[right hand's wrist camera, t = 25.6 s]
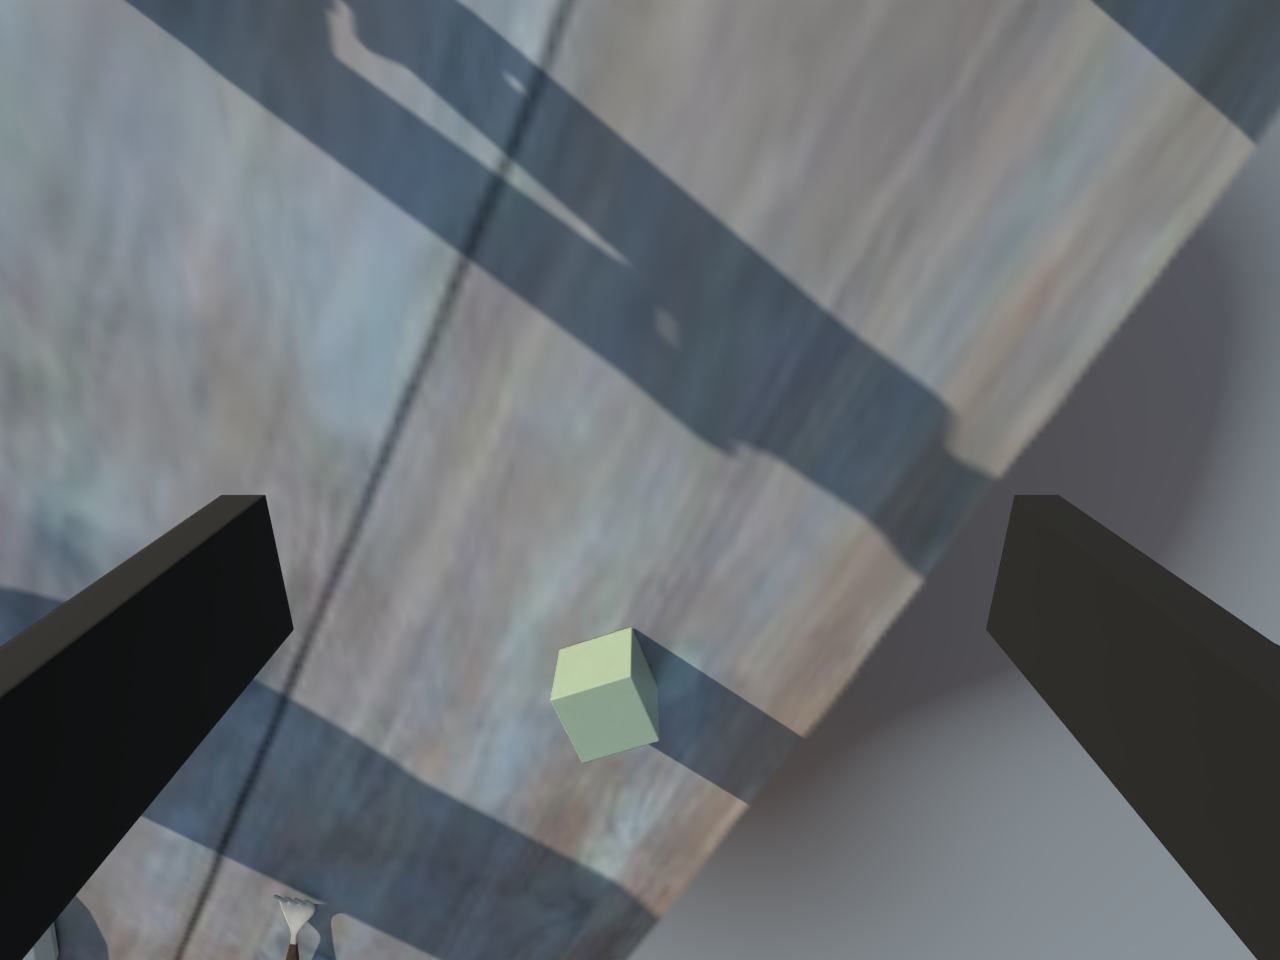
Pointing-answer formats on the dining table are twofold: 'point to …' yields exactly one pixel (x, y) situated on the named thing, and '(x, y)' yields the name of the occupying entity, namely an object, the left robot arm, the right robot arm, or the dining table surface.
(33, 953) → the wall clock
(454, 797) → the dining table surface
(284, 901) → the fork
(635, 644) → the sage block
